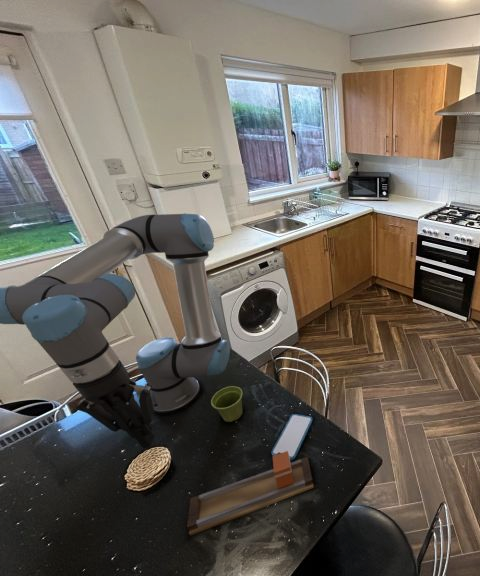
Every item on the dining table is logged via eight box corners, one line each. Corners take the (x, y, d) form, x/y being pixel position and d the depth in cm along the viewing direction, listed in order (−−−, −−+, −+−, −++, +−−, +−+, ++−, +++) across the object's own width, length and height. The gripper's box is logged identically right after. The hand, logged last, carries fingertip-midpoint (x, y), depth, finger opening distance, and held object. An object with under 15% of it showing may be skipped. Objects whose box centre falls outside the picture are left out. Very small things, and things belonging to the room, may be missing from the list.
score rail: (194, 502, 82) (190, 496, 80) (308, 461, 92) (307, 455, 90) (190, 535, 75) (186, 529, 74) (313, 487, 85) (312, 481, 84)
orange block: (277, 475, 87) (271, 455, 83) (292, 469, 88) (288, 450, 84) (278, 492, 83) (273, 473, 79) (294, 486, 84) (290, 467, 80)
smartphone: (313, 417, 104) (293, 458, 91) (313, 419, 105) (294, 461, 92) (292, 413, 105) (270, 453, 92) (292, 415, 106) (270, 456, 93)
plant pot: (236, 429, 101) (230, 411, 97) (211, 423, 102) (204, 405, 98) (253, 406, 109) (248, 388, 105) (229, 401, 110) (223, 384, 106)
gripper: (43, 393, 55) (109, 466, 68) (126, 376, 58) (175, 449, 70) (67, 364, 61) (123, 435, 74) (141, 350, 64) (183, 421, 77)
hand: (148, 442), depth 72 cm, fingers closed
